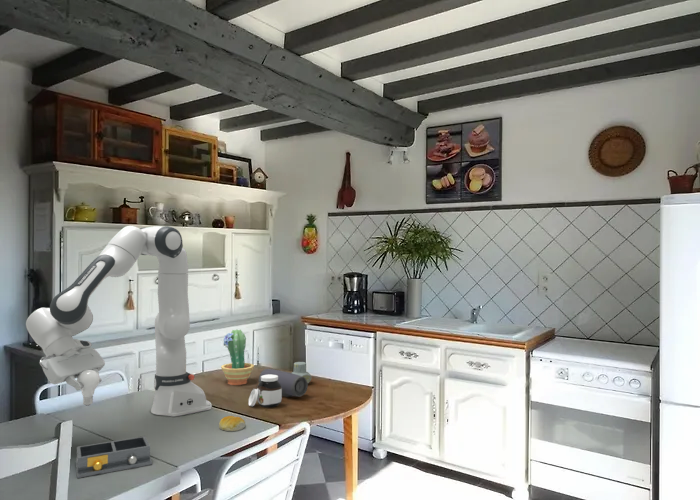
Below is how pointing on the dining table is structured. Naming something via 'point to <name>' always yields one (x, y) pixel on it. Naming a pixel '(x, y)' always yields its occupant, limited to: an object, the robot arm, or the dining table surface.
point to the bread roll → (231, 423)
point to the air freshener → (301, 370)
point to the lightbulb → (88, 385)
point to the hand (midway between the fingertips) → (90, 385)
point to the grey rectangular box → (112, 456)
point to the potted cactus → (236, 359)
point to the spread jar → (267, 392)
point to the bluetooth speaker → (288, 382)
